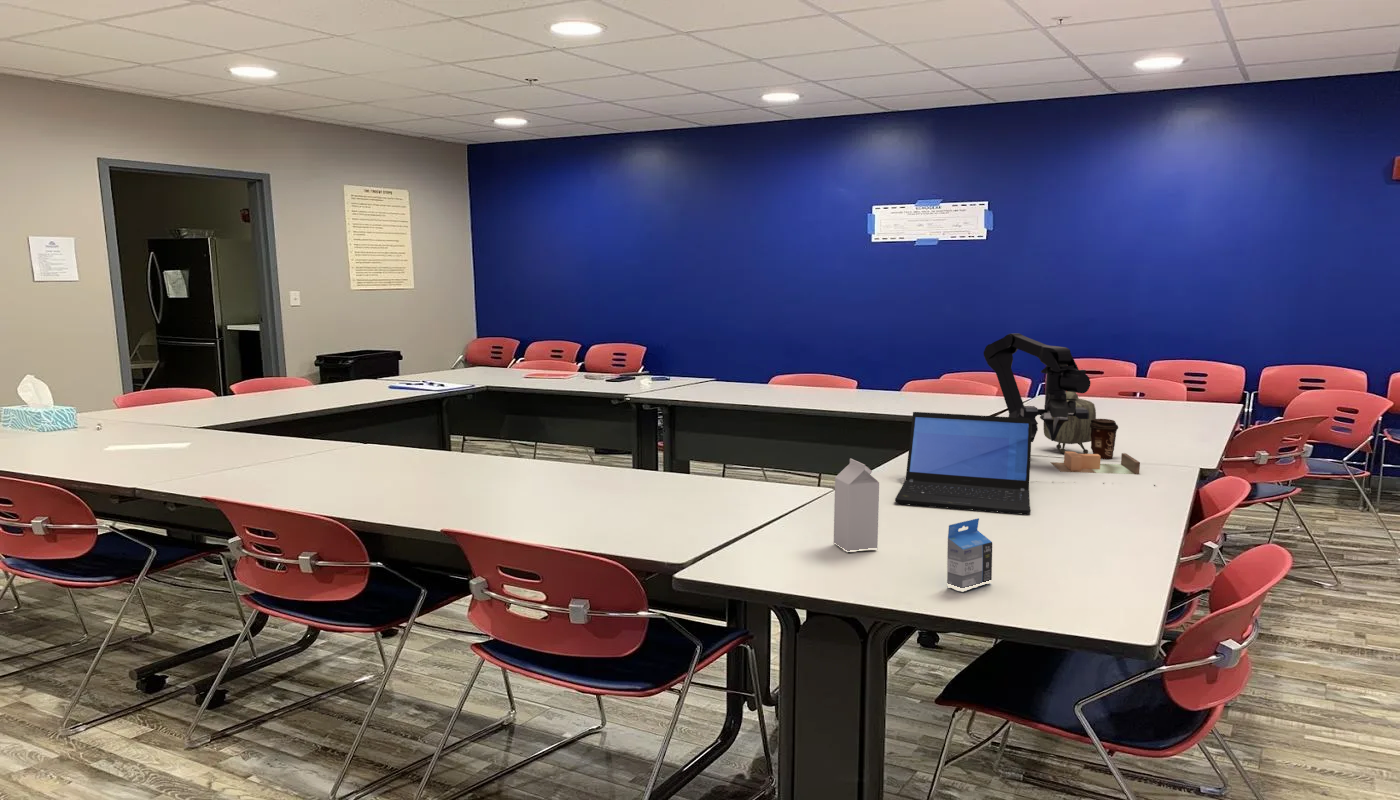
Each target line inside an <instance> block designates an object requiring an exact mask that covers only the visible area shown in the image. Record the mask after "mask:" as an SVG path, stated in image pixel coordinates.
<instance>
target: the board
mask: <svg viewBox="0 0 1400 800" xmlns="http://www.w3.org/2000/svg"><path fill="white" fill-rule="evenodd" d="M1120 456H1121V458H1120V460H1121V461H1120V464H1116V463H1115V464H1113V463H1100V469H1081V471H1078V470H1070V469H1069V468H1068V467H1066V466H1065V465H1064V462H1059V461H1058V462H1054V461H1053V462H1050V464H1051V465H1052V466H1054V468H1056V469H1057V470H1058V471H1059V472H1060V473H1082V474H1083V473H1085V474H1086V473H1087V474H1088V473H1090V474H1091V473H1093V474H1114V475H1115V474H1116V475H1117V474H1119V475H1140V468H1141V467H1140V466H1141V462H1140V461H1139V460H1137V459H1136V458H1134V457H1132V456H1131V455H1129V454H1128V453H1125V452H1122V453H1121V455H1120Z"/></svg>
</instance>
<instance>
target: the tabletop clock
mask: <svg viewBox="0 0 1400 800" xmlns="http://www.w3.org/2000/svg"><path fill="white" fill-rule="evenodd" d="M1066 400H1067V401H1075V402H1076V407H1084V408H1085V409H1087V410H1088V411H1089V419H1078V418H1077V417H1076V416H1068V417H1067V419H1068V421H1065V422H1064V423H1063V424H1062V426H1061V428H1060V430H1059V432H1058V434H1057V436H1056V439H1055V441H1054V442H1055V443H1056V442H1057V443H1058V444H1056V445H1055V447H1056V449H1058V450H1059V452H1060V454H1064V452H1065V451H1066V449H1065V447H1066V445H1075V444H1077V445H1079V446H1080V447H1081V449H1082V454H1089V450H1088V449H1086V448H1085V446H1084V445H1083V444H1084V443H1085V444H1086V443H1088V442H1090V443H1091V435H1090V434H1091V427H1090V424H1091V420H1093V419H1097V412H1096V406H1095V404H1094V402H1092V401H1090V400H1086V399H1083V398H1080V397H1079V396H1078V393H1076V392H1069V391H1066ZM1052 419H1054V417H1052ZM1053 426H1054V421H1053ZM1043 435H1044V437H1045V438H1047V439H1048V440H1050V441H1051V438H1050V435H1049V432H1048V429H1047V426H1046V424H1045V422H1044V421H1043ZM1061 444H1062V445H1061Z"/></svg>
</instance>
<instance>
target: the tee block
mask: <svg viewBox="0 0 1400 800" xmlns="http://www.w3.org/2000/svg"><path fill="white" fill-rule="evenodd" d="M1063 454H1064V455H1063V457H1064V458H1063V463H1064V465H1065V466H1066V467H1068V468H1069V469H1070V470H1078V471H1081V469H1100V464H1101V460H1102V459H1101V456H1100V455H1099V454H1093V453H1088V454H1084V453H1077V452H1076V451H1066V450H1065V452H1064V453H1063Z"/></svg>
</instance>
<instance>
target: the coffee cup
mask: <svg viewBox="0 0 1400 800" xmlns="http://www.w3.org/2000/svg"><path fill="white" fill-rule="evenodd" d="M1090 427H1091V434H1090V435H1091V441H1090V449H1091V451H1092V454H1099V455H1100V456H1101V460H1113V458H1114V450H1115V447H1116V446H1115V445H1116V438H1117V437H1116V436H1117V431H1118V429H1119V426H1118V424H1117V423H1116V421H1115V420H1114V419H1108V418H1096V419H1093V420H1091V424H1090Z"/></svg>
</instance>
